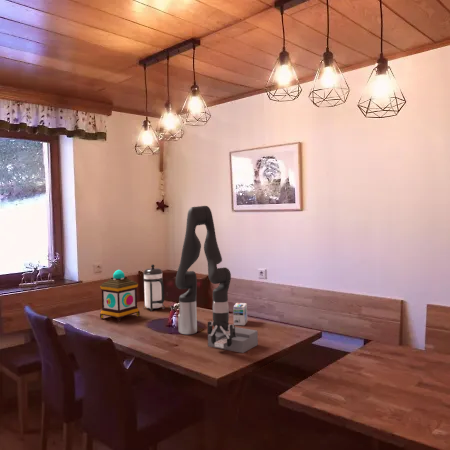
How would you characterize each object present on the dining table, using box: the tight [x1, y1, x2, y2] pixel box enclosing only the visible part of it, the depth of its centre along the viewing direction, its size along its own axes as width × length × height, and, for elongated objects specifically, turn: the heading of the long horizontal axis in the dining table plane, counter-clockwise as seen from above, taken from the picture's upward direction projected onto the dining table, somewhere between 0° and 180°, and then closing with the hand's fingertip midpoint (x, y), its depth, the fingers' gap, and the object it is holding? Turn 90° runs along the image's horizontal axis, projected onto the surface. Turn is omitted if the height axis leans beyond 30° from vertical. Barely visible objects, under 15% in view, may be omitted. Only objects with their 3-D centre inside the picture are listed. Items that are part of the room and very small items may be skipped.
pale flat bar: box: [214, 336, 237, 349], centre depth 211 cm, size 5×14×2 cm, turn 147°
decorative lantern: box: [99, 269, 140, 323], centre depth 274 cm, size 20×20×30 cm
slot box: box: [207, 326, 259, 354], centre depth 216 cm, size 20×14×7 cm
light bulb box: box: [232, 302, 248, 326], centre depth 256 cm, size 11×7×11 cm, turn 168°
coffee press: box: [142, 264, 166, 312], centre depth 295 cm, size 17×16×30 cm
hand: (221, 344), depth 207 cm, fingers open, 8 cm apart
